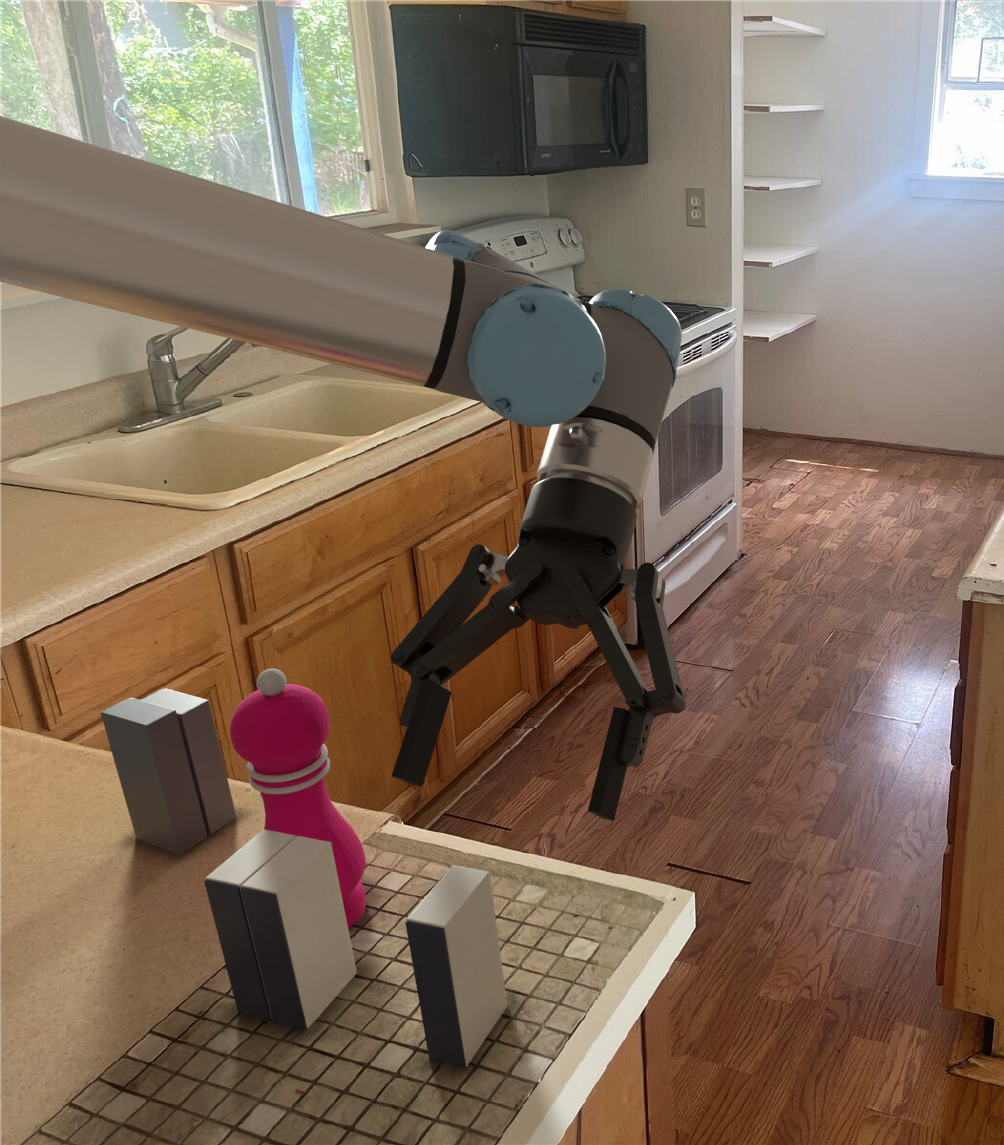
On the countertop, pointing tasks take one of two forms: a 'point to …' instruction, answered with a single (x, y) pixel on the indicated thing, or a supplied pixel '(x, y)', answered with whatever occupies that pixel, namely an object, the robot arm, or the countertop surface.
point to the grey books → (170, 768)
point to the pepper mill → (297, 774)
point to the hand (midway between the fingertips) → (501, 799)
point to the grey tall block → (282, 927)
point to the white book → (457, 965)
